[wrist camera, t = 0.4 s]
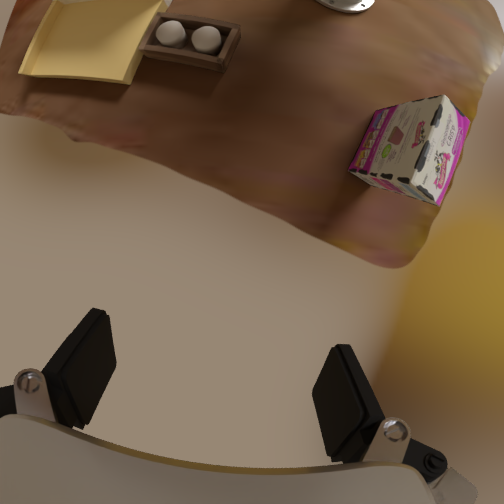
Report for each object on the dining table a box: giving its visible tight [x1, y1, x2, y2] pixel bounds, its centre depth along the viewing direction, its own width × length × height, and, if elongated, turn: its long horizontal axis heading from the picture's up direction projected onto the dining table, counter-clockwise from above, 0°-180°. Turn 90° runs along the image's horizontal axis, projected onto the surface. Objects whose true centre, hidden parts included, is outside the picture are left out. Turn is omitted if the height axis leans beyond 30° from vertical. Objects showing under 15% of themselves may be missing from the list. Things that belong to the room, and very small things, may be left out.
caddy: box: [138, 12, 241, 73], centre depth 27 cm, size 6×12×5 cm, turn 70°
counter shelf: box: [19, 0, 172, 85], centre depth 20 cm, size 17×23×14 cm
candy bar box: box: [348, 95, 470, 206], centre depth 27 cm, size 11×5×16 cm, turn 155°
